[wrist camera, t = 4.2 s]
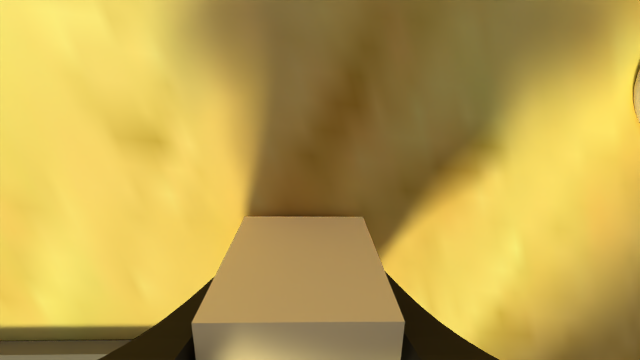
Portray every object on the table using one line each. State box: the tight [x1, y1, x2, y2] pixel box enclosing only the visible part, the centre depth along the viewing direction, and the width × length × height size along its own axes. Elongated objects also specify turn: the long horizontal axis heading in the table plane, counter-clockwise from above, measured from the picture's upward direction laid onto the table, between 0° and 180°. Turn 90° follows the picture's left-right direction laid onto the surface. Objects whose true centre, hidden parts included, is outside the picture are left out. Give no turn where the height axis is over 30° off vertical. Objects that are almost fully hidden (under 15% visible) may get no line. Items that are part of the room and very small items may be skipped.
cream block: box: [192, 216, 405, 360], centre depth 11 cm, size 5×5×6 cm
